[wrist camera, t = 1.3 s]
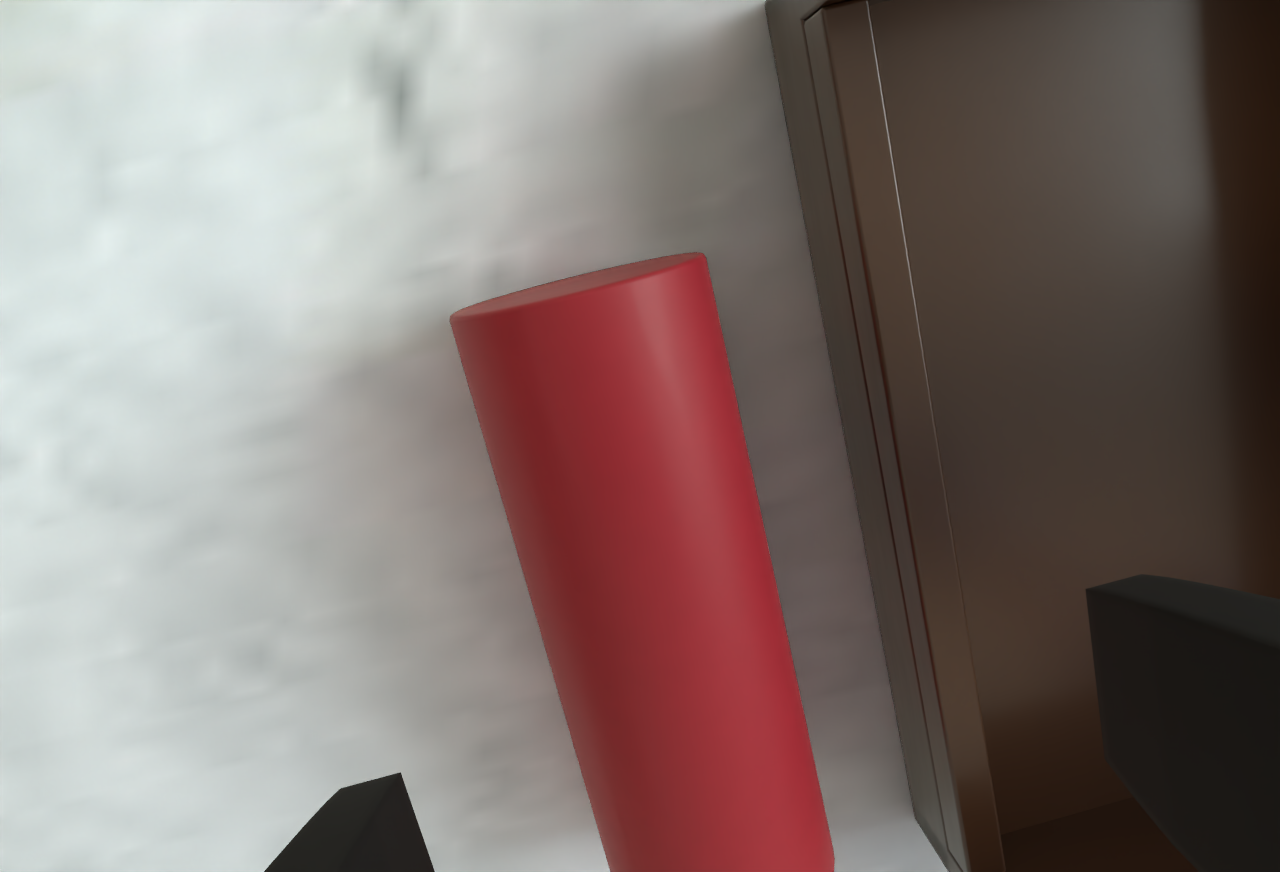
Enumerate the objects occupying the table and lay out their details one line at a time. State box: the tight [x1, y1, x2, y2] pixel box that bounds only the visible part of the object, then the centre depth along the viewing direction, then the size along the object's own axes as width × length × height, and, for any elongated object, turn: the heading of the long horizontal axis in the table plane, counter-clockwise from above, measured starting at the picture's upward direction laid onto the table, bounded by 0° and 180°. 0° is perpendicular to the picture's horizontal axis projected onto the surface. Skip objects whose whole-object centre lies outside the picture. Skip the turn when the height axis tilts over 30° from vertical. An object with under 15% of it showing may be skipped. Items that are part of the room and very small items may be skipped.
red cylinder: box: [450, 252, 835, 872], centre depth 16 cm, size 12×4×4 cm
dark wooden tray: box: [765, 0, 1280, 872], centre depth 16 cm, size 18×14×6 cm
